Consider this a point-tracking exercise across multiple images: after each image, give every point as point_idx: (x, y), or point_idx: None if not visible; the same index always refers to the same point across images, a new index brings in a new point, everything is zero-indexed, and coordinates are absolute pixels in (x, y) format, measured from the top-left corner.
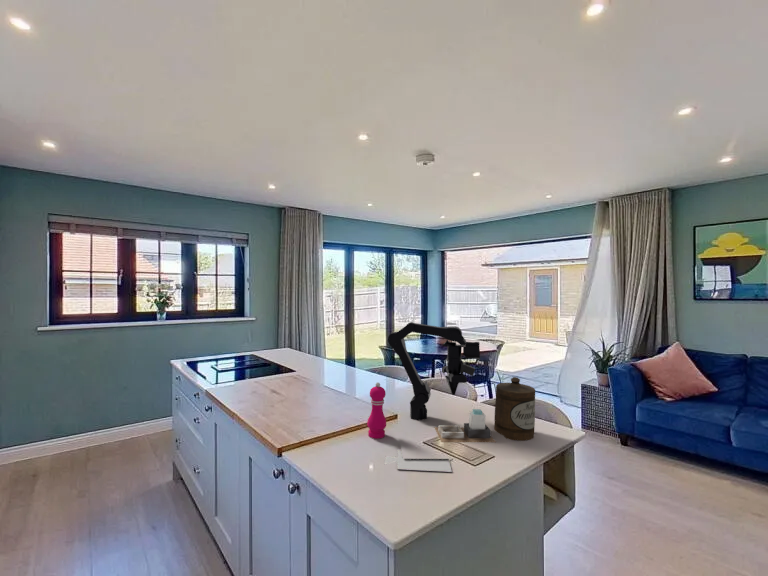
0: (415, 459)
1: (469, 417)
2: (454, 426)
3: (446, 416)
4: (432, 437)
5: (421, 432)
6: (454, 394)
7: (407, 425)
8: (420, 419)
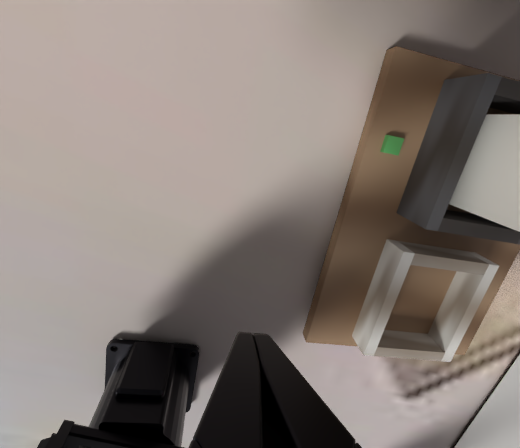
0: (516, 440)
1: (514, 228)
2: (402, 281)
3: (93, 200)
4: (379, 358)
5: (317, 386)
6: (270, 342)
7: None
8: (188, 380)
